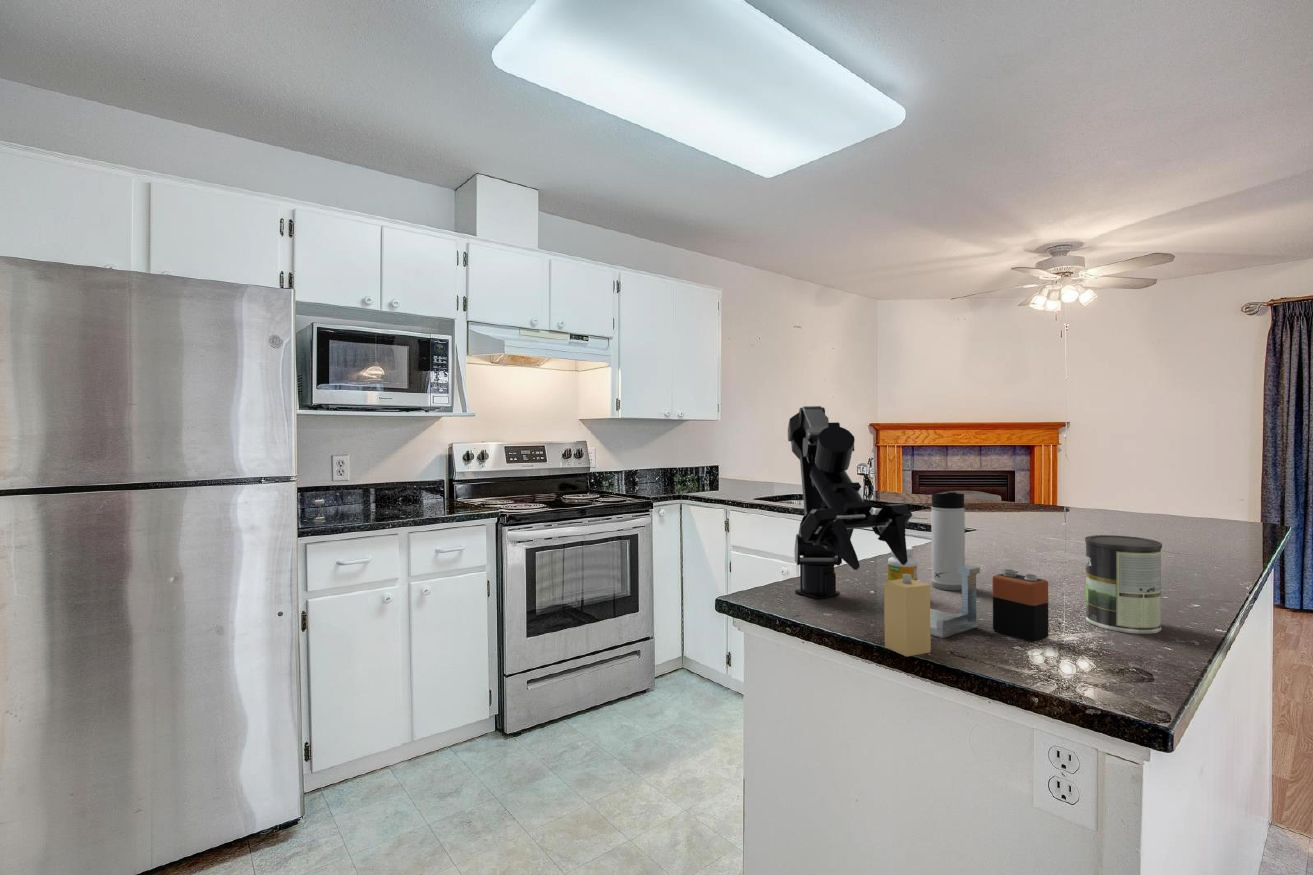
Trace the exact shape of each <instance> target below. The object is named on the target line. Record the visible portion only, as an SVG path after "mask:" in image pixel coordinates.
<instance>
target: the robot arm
mask: <svg viewBox="0 0 1313 875" xmlns="http://www.w3.org/2000/svg"><path fill="white" fill-rule="evenodd" d="M829 420H830V419H829V416H827V415H826V409H825V407H824V406H821V405H818V406H817V405H813V406H812V405H811V406H808V405H807V406H805V405H804V406H802V407H799V411H798V412H797V413H796V414H795V415H793V416H791V417H790V418H789V420H788V427H787V441H788V442H790V445H791V446H790V447H791V453H793V454H794V455H795V456H796V457H797V459H798V460H799V464H800V474H801V475H800V476H801V477H800V478H801V486H802V500H803V510H804V511H803V512H804V515H803V516H802V518H801V522H800V523H799V528H798V533H797V534H796V535H795V540H794V541H795V542H794V551H793V552H794V562H795V565H796V566H799V568H800V569H799V572H800V574H799V576H800V577H799V578H800V579H799V580H800V581H799V582H800V584H799V585H800V588H798V589H795V590H794V593H796V594H799V595H803V596H806V597H810V598H813V599H817V600H819V599H824V598H829V597H835V596H837V595H840V594H841V592H840V591H839V590H837V586H836V585H837V582H836V581H837V578H836V577H837V575H836V572H835V566H841V565H842V564H843V561H844V562H845V563H846V564H847V565H848V566H849V567H851V568H852V569H853V570H855V571H857V570H859V568H860V562H859V559H858V555H857V553H856V551H855V548H854V546H853V543H852V541H851V540H852V539H851V538H852V536H853V532H854V530H855V529H857V530H858V529H869V528H871V529H872V532H874V534H875V535H877V536H878V538H877V540H878V541H882V542H884V543H886V544H887V546H888V547H889V549H890V551H891V550H892V552H893V553H894V555H895V556H896V558H897V559H898V560H899V562H900V563H901V564H902V565H905V564H906V563H907V561H908V560H907V549H906V546H907V542H906V540H907V538H906V524H907V523H908V522H909V520H910V519H911V518H912V517H913V513H912V512H911V510H910V509H909V507H908V506H907V504H903V503H894V504H884V505H883V506H882V507H881V508H880V510H879V511H878V513H877V514H871V510H872V508H873V507H874V505H873V503H872V502H871V501H870V500H869V501H868V500H867V501H864V499H863V497H862V495H861V493H859V491H860V490H861V488H862V485H861V484H860V482H853V481H852V479H851V477H850V476H849V474H848V473H847V471H848V470H849V468H850V464H851V461H852V460H851V459H852V455H853V452H855V441H856V440H855V435H853V434H852V432H850V430H848V429H847V428H845V427H842V426H841V424H840V422H838V421H837V422H829Z"/></svg>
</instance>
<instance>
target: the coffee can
mask: <svg viewBox="0 0 1313 875" xmlns="http://www.w3.org/2000/svg"><path fill="white" fill-rule="evenodd" d="M1084 542H1085V600H1086V602H1085V614H1086V615H1085V621H1086V622H1087V623H1089V624H1091V625H1092V626H1096V627H1098V628H1101V629H1104V630H1109V631H1113V632H1118V633H1125V634H1126V633H1127V634H1134V635H1135V634H1138V635H1149V634H1157V633H1160V632H1161V631H1162V629H1163V628H1162V620H1161V619H1162V548H1163V543H1162V542H1161V541H1158V540H1154V539H1151V538H1150V539H1149V538H1144V537H1137V536H1130V535H1129V536H1127V535H1112V534H1111V535H1110V534H1104V535H1103V534H1101V535H1087V536H1086V537H1085V538H1084Z"/></svg>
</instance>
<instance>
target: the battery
mask: <svg viewBox="0 0 1313 875" xmlns="http://www.w3.org/2000/svg"><path fill="white" fill-rule="evenodd" d="M1001 571H1002V573H999V574H994V575H993V576H992V630H993V631H994V632H996V633H1000V634H1003V635H1006V636H1009V637H1012V638H1013V637H1014V638H1017V639H1020V640H1025V641H1028V642H1033V643H1034V642H1037V641H1041V640H1045V639H1047V638H1049V582H1048V580H1046V579H1044V578H1043V579H1042V578H1038V577H1037V575H1036V574H1032V573H1025V574H1024V575H1023V574H1019V571H1018V570H1017V569H1013V568H1003V569H1001Z"/></svg>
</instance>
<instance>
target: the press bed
mask: <svg viewBox="0 0 1313 875" xmlns="http://www.w3.org/2000/svg"><path fill="white" fill-rule="evenodd" d="M958 574H962V590H961V612H960V613H956V614H954V613H949V612H946V611H943V610H942V611H941V610H938V609H933V608H930V636H935V637H938V638H942V639H945V638H947V637H950V636H954V635H956V634H959V633H963V632H967V631H969V630H972V629H975V628H977V575H978V574H981V567H980V566H977V565H976V566H975V565H969V564H967V565H965V566H962V567H958Z"/></svg>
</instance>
